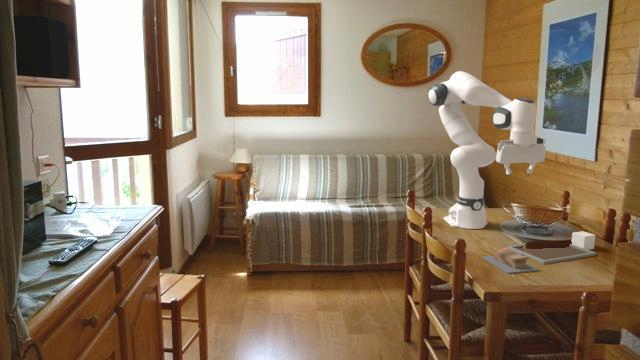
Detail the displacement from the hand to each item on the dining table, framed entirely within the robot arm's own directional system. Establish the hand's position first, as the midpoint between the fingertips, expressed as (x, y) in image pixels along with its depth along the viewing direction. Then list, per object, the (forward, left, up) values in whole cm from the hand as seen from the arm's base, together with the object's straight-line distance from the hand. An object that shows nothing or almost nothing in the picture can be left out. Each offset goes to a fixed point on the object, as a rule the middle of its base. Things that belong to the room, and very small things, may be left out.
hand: (519, 173), depth 194 cm
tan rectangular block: (+16, -13, -31) cm, 37 cm away
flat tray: (+8, +10, -32) cm, 34 cm away
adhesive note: (+6, +28, -31) cm, 43 cm away
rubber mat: (+16, -13, -31) cm, 37 cm away
